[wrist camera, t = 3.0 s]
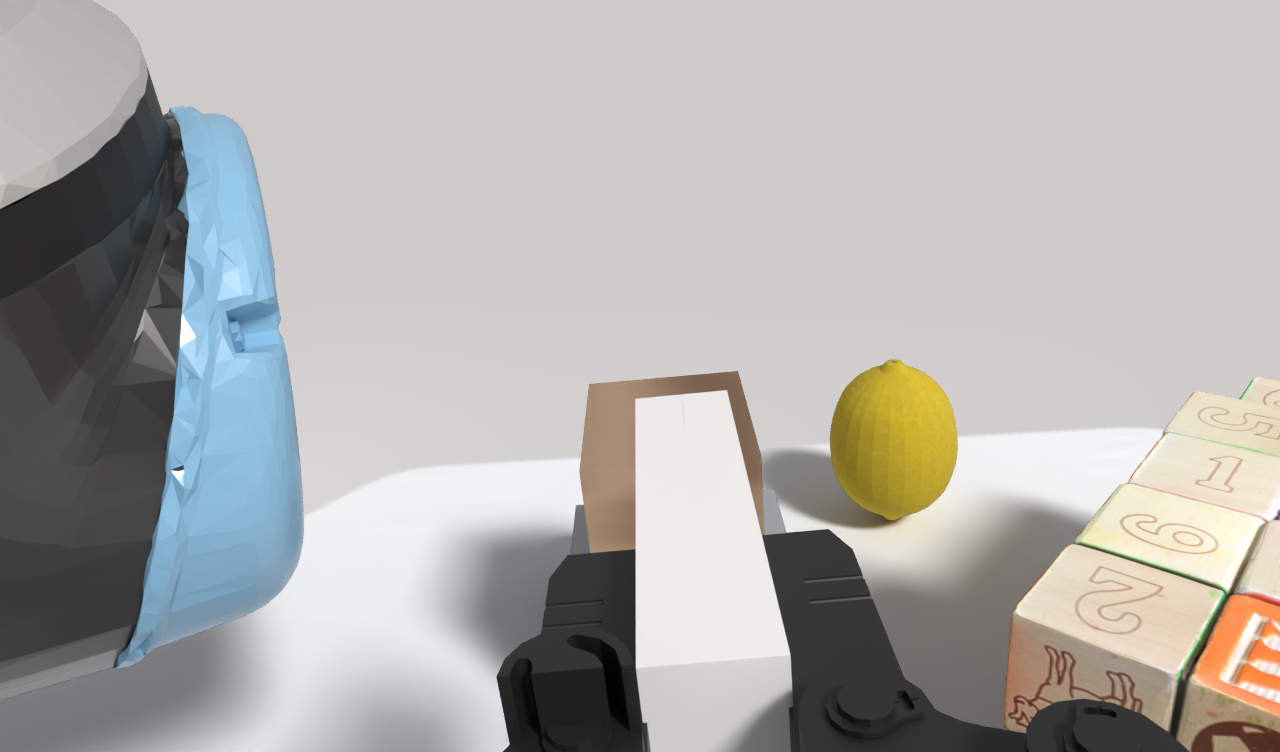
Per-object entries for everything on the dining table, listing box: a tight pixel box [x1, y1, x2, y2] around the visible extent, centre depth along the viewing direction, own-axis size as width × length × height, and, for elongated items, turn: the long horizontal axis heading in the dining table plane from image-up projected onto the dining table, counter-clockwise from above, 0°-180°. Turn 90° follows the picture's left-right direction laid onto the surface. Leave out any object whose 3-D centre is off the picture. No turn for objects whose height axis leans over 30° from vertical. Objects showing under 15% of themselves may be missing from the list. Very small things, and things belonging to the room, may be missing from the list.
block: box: [580, 371, 765, 553], centre depth 30 cm, size 5×6×11 cm
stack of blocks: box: [1003, 377, 1280, 752], centre depth 25 cm, size 21×6×12 cm, turn 136°
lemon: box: [830, 359, 958, 520], centre depth 41 cm, size 6×6×8 cm
